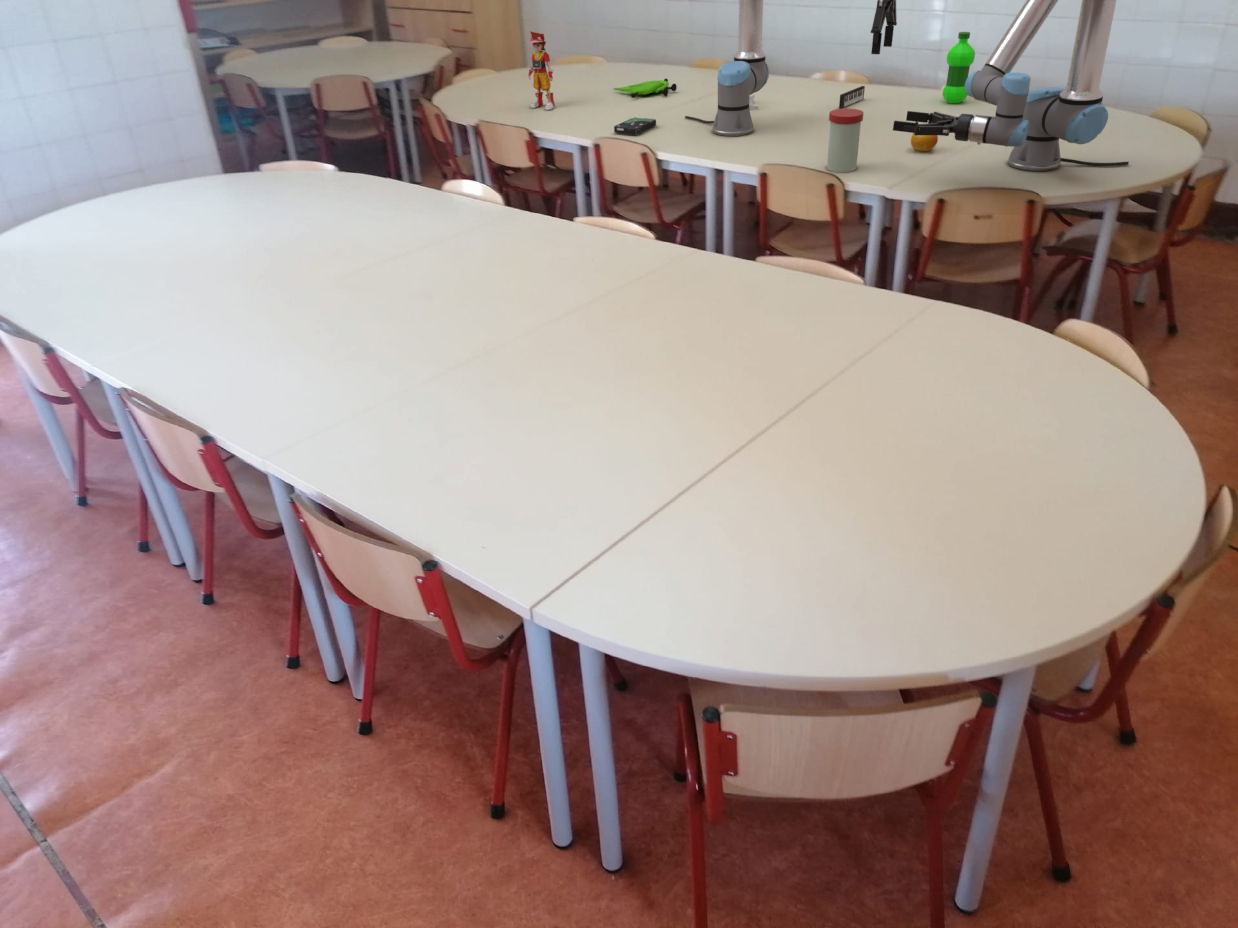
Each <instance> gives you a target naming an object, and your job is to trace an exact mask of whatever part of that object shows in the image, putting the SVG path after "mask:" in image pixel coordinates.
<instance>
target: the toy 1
mask: <svg viewBox="0 0 1238 928" xmlns="http://www.w3.org/2000/svg"><path fill="white" fill-rule="evenodd" d="M529 33H530V35H531V36H528V37H527V38H528V39H529V40H528V41H527V43H529V44H530V43H531V44H532V48H533V50H534V51H533V52H532V55H531V58H530V59H531V63H530V66H528V74H527V75H528V76H527V77H528V79H529V80H531V75H532V74H533V84H532V85H533V86H532V87H533V88H534V89H535V90H536V92H534V95H535V97H536V100H535V101H533V102H531V105H530V108H531V109H535V108H538V107H542V106H544V101H543V100H544V99H543V95H544V92H546V94H545V97H546V99H547V103H546V104H545V106H544V110H546V111H549V110H553V109H554V107H555V106H556V105H555V99H554V92H551V91H550V90H551V86H552V84H551V82H552V81H553V80H554V77H553V73H554V71H555V70H554V69H552V68H551V63H550V61H551V59H550V58H551V57H550V54H549V53H548V52H547V50H546V48H545V46H546V44H547V41H545V35H544V33H543V32H542V33H539V32H535V31H529Z"/></svg>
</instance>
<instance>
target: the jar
mask: <svg viewBox="0 0 1238 928" xmlns="http://www.w3.org/2000/svg"><path fill="white" fill-rule="evenodd" d="M829 122H830V123H829V134H828V135H829V136H828V137H829V138H828V148H827V161H826V169H827V171H830V172H834V173H851V172H854V171H856V170H857V165H858V157H859V155H858V154H859V145H860V134H861V125H862V121H861V122H859V123H854V124H838V123H833V122H831V121H829Z"/></svg>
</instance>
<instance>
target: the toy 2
mask: <svg viewBox="0 0 1238 928" xmlns="http://www.w3.org/2000/svg"><path fill="white" fill-rule="evenodd" d="M669 85H670V83H669V79H668V78H664V79H663V80H649V81H644V82H640V83H634V84H629V85H627V86H621V87H613V88H612V89H613V90H616V91H619V92H623V93H627V94H628V93H629V94H631V95H630V96H631V98H632V99H634V98H636V96H637V95H650V94H652V93H654V94H658V93H662V95H663V96H665V97H667V96H668V95H669V90H671V91H672V92H676V91H677V84H676V83H672V84H671V86H669Z"/></svg>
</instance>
